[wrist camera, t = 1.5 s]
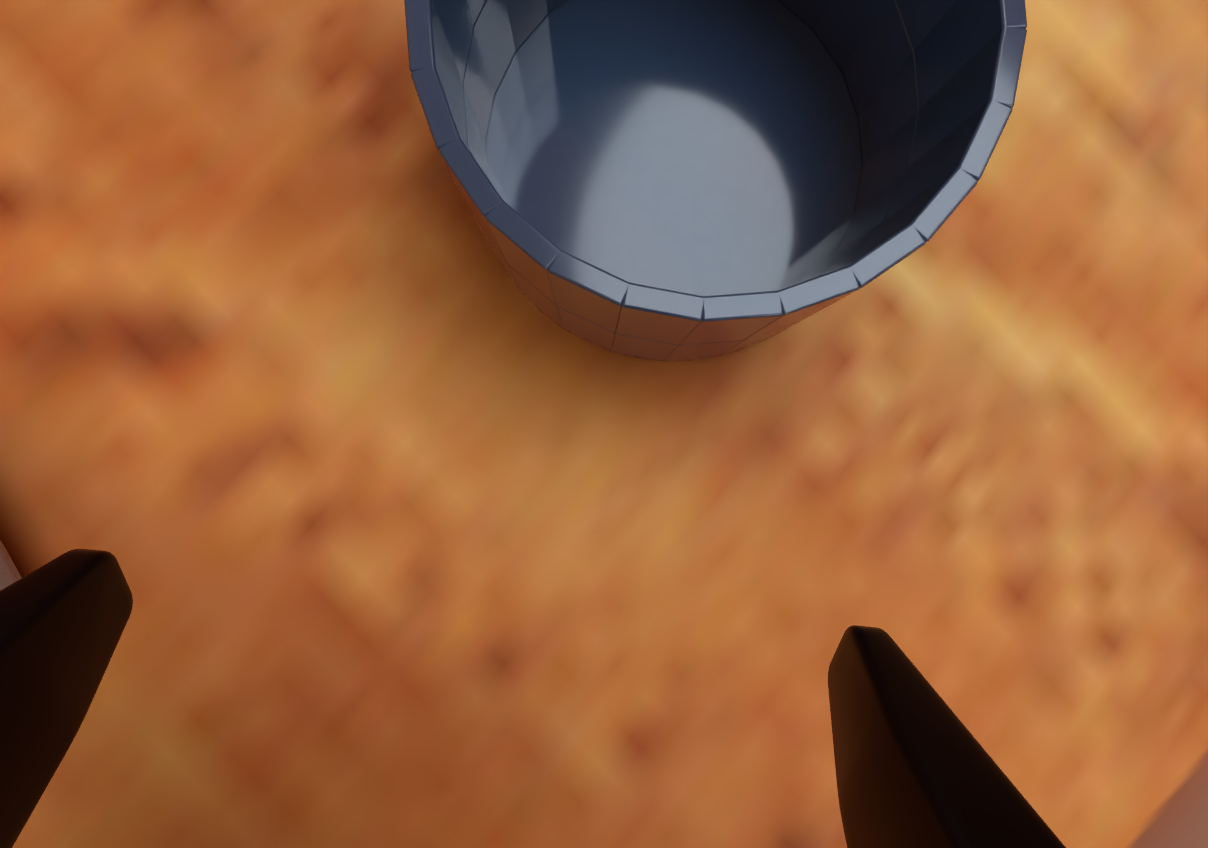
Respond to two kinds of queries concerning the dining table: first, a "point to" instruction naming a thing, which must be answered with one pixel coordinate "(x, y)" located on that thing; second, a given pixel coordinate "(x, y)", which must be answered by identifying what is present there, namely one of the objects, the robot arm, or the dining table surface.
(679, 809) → the dining table surface
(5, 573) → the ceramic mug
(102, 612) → the robot arm
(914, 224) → the bowl
